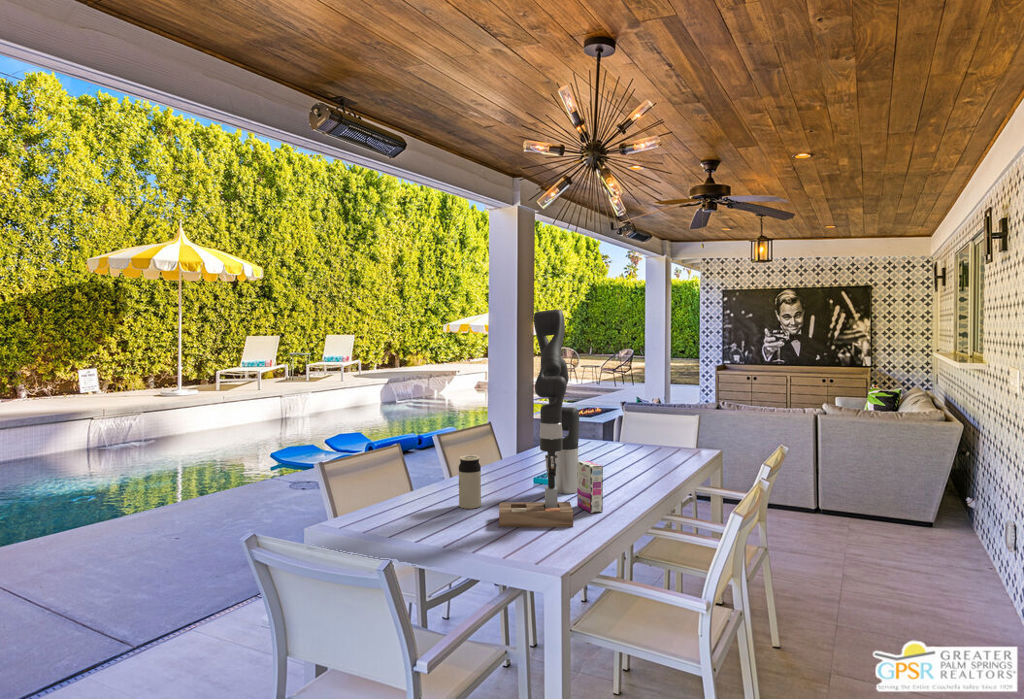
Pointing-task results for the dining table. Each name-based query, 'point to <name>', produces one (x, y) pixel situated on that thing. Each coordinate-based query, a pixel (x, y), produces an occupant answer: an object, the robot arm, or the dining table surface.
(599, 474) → the candy bar box
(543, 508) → the socket block
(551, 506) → the plug
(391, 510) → the dining table surface
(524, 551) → the dining table surface
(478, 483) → the travel mug
